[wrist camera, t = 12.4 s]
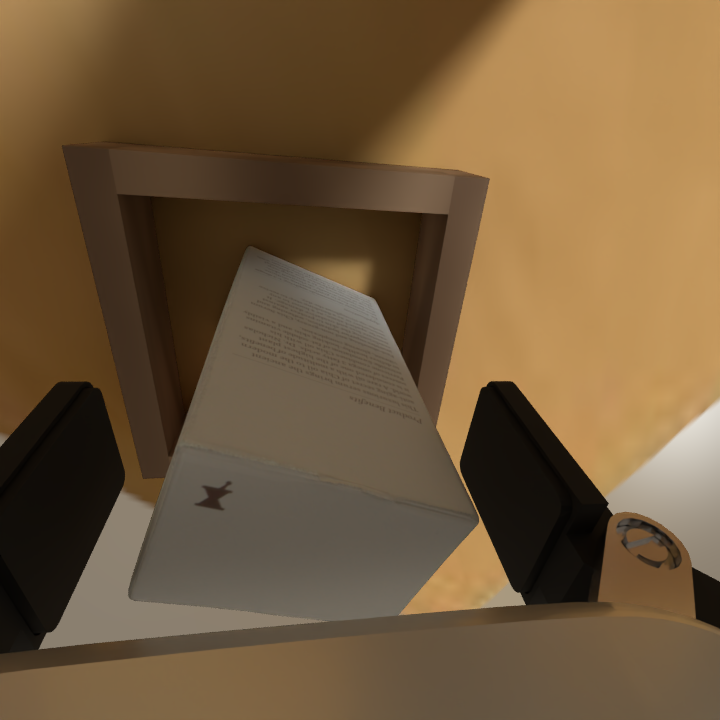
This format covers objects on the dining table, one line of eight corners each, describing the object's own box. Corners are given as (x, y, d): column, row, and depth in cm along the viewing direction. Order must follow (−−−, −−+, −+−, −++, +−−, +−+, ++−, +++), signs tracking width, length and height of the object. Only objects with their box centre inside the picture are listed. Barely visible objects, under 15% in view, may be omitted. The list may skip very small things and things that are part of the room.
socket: (458, 170, 16) (489, 178, 13) (412, 427, 22) (427, 466, 20) (104, 141, 14) (61, 145, 11) (162, 433, 20) (143, 478, 18)
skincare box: (215, 330, 18) (111, 604, 8) (248, 241, 16) (170, 437, 6) (340, 374, 20) (389, 637, 10) (380, 298, 18) (492, 518, 8)
